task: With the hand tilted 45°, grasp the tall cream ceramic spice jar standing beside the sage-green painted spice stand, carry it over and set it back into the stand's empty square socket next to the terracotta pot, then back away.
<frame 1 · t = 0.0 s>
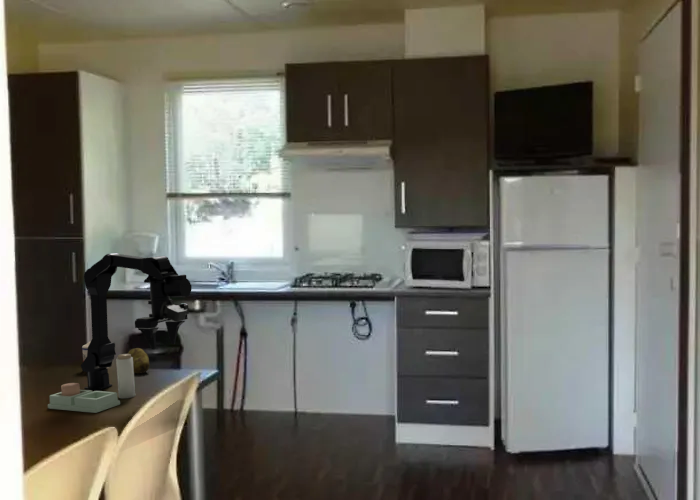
hand: (163, 346, 254), 15 cm above the table, tool pointing down, fingers open, 9 cm apart
spice stand: (84, 406, 243), on the table
spice jar: (127, 396, 253), on the table
teacup with lid: (96, 371, 297), on the table
potato: (138, 372, 291), on the table
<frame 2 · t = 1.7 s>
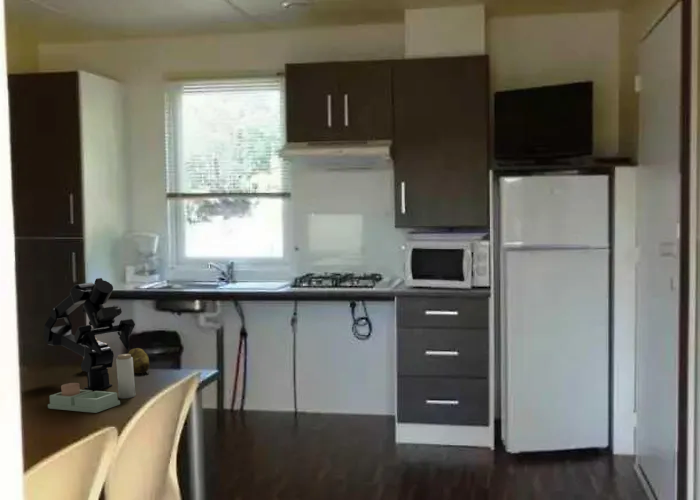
hand: (115, 351, 257), 14 cm above the table, tool tilted 45°, fingers open, 9 cm apart
nothing on the table moved.
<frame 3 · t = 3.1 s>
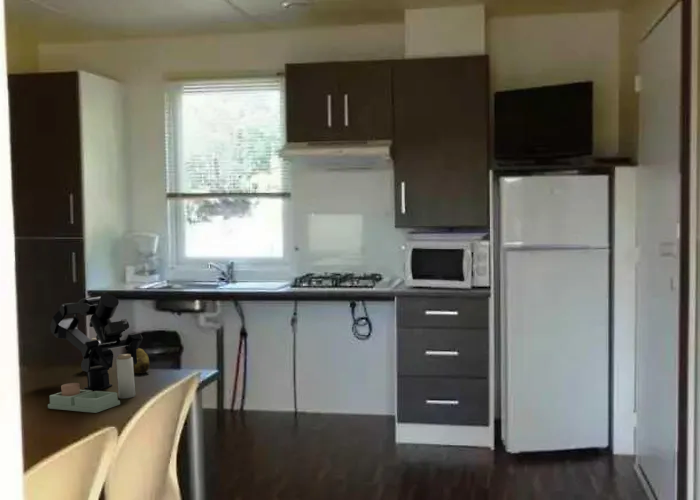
hand: (122, 366, 254), 9 cm above the table, tool tilted 45°, fingers open, 9 cm apart
nothing on the table moved.
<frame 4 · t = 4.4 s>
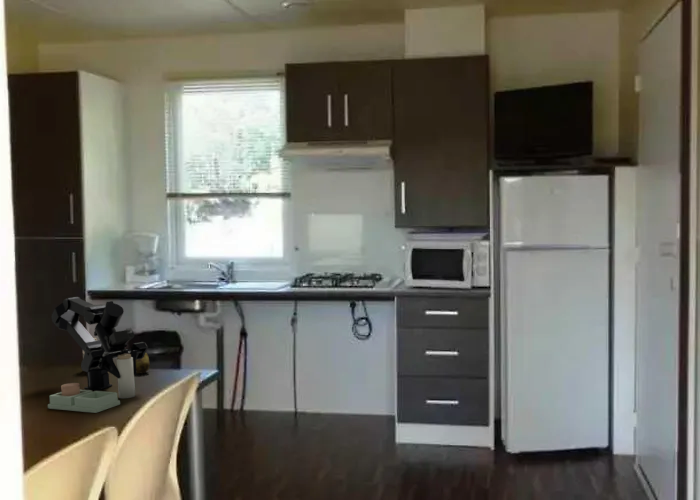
hand: (127, 375, 252), 7 cm above the table, tool tilted 45°, fingers closed on spice jar, 5 cm apart
spice jar: (127, 396, 253), on the table, touching gripper
everything else where it was.
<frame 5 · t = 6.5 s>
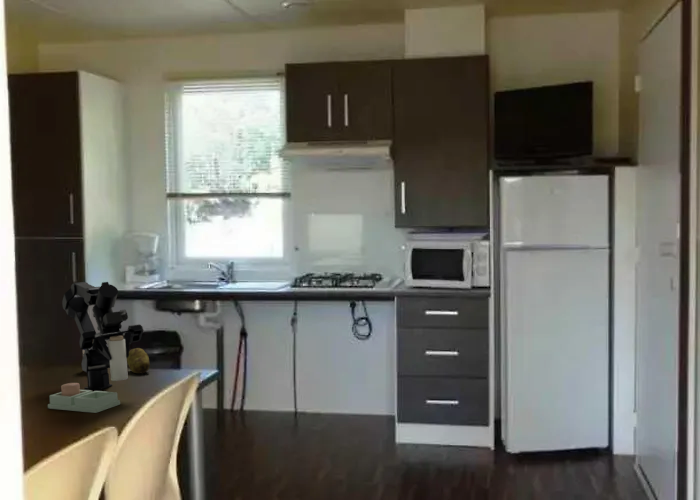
hand: (119, 358, 247), 13 cm above the table, tool tilted 45°, fingers closed on spice jar, 5 cm apart
spice jar: (119, 378, 249), point 6 cm above the table, touching gripper
everything else where it was.
when the fingers open (9 cm above the table, at t = 8.4 s): spice jar drops 1 cm, resting on spice stand.
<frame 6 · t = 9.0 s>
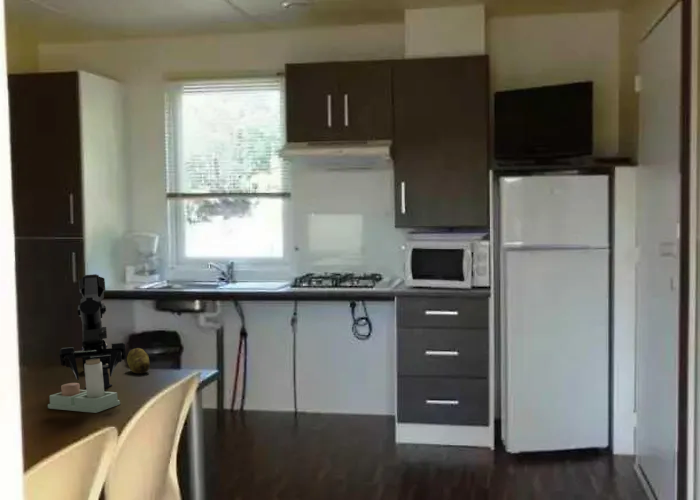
hand: (94, 377, 239), 9 cm above the table, tool tilted 45°, fingers open, 9 cm apart
spice jar: (96, 403, 241), point 1 cm above the table, touching spice stand
everything else where it was.
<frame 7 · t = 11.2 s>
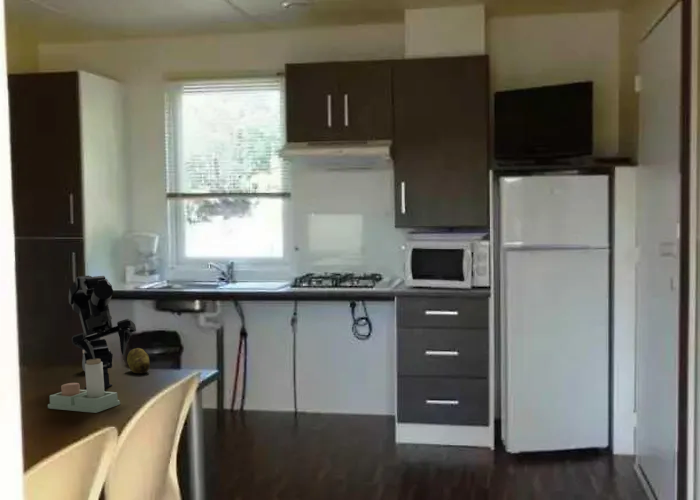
hand: (108, 359, 250), 12 cm above the table, tool tilted 30°, fingers open, 9 cm apart
nothing on the table moved.
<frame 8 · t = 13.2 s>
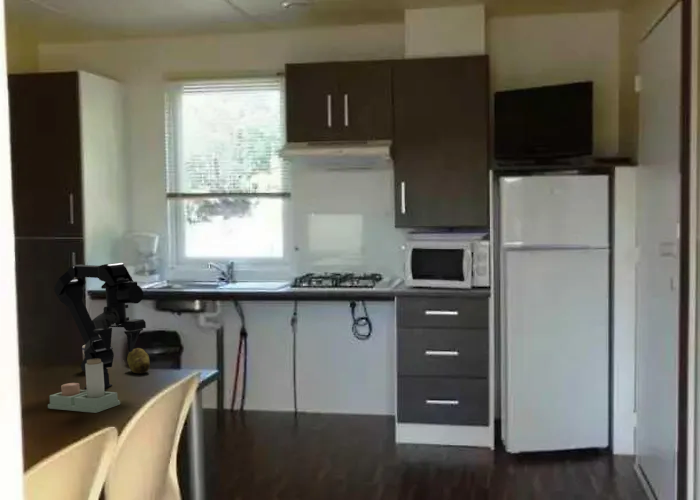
hand: (119, 351, 260), 13 cm above the table, tool pointing down, fingers open, 9 cm apart
nothing on the table moved.
at the end: spice jar 0.1 cm from the target spot on the spice stand, point 1.2 cm above the spice stand's base; spice jar tilted 1°; the gripper is holding nothing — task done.
